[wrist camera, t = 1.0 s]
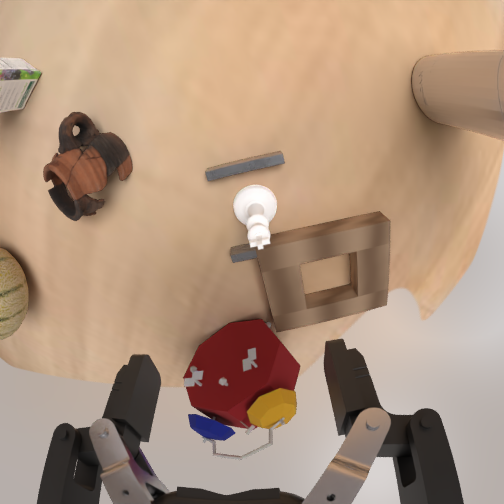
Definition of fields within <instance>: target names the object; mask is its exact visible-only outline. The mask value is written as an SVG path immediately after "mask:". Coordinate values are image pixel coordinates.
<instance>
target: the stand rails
mask: <svg viewBox="0 0 504 504" xmlns="http://www.w3.org/2000/svg"><path fill="white" fill-rule="evenodd" d="M284 163H285V162H284V158H283V154H282V152H281V151H278V152H273V153H268V154H264V155H259V156H255V157H250V158H246V159H242V160H237V161H233V162H229V163H225V164H221V165H218V166H214V167H210V168H207V170H206V172H205V173H206V176H207V180H208V181H211V180H215V179H218V178H222V177H226V176H230V175H235V174H239V173H243V172H247V171H251V170H256V169H260V168H265V167H269V166H274V165H279V164H284ZM253 258H257V254H256V250H255V247H251V248H250V243H248V244H244V245H240V246H235V247H231V259H232V262H233V263H235V262H239V261H244V260H248V259H253Z"/></svg>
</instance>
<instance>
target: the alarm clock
mask: <svg viewBox="0 0 504 504" xmlns="http://www.w3.org/2000/svg"><path fill="white" fill-rule="evenodd" d="M270 327H271V323H270V322H267V323H265V322H264V321H263V320H262V319H259V320H251V321H242V322H234V323H229V324H227V325H226V326H225V327H223V328H222V329H221V330H219V331H218V332H217V333H215V334H214V335H213V336H211V337H210V338H209V339H207V340H206V341H205V342H203V343H202V344H201V345H199V347H198V349H197V351H196V353H195V355H194V357H193V359H192V361H191V363H190V365H189V367H188V369H187V371H186V373H185V375H184V377H183V378H184V387H186V389H187V392H188V396H189V399H190V402H191V405H192V406H193V407H194V408H196V409H197V410H199V411H200V412H202V413H203V414H205V415H206V416H208V417H210V418H211V419H209V418H206V417H203V416H200V415H197V414H189V415H188V416H189V422H190V427H191V428H192V429H193V430H194V431H196V432H197V433H199V434H200V435H202V436H203V438H204V440H203V442H204V443H205V442H206V440H207V441H210V442H211V443H213V456H217V457H224V458H231V459H240V460H242V459H244V458H246V457H248V456H250V455H252V454H255V453H257V452H259V451H261V450H263V449H265V448H267V447H268V446H271V445H272V444H273V441H272V440H273V439H272V438H273V435H272V430H273V429H275V428H278V427H280V426H282V425H284V424H287V423H288V422H289V421H290V420H291V418H292V417H293V416H294V415H295V414H296V407H297V402H296V392H295V391H294V389H295V385H296V381H297V377H298V374H299V370H300V365H299V364H298V362H297V361H296V360H295V359H294V357H293V356H292V355H291V354H290V352H289V351H288V350H287V349H286V347H285V346H284V345H283V344H282V342H281V341H280V340H279V339H278V338H277V336H276V335H275V334H274V333H273V332H272V331H271V329H270ZM226 425H228V426H235V427H240V428H247V429H248V430H247V431H246V432H245V433H246V434H249V433H250V432H251V431H252V430H254V429H255V428H257V427H261V428H267V429H269V443H268V444H266V445H264V446H262V447H260V448H258V449H256V450H253V451H251V452H249V453H247V454H245V455H243V456H234V455H226V454H218V453H216V444H215V443H216V442H215V441H214V440H226V439H228V438H229V437H231V436H232V435H233V434H235V432H234V431H233V429H232V428H230V427H228V426H226ZM211 439H214V440H211Z"/></svg>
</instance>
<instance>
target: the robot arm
mask: <svg viewBox="0 0 504 504" xmlns="http://www.w3.org/2000/svg"><path fill="white" fill-rule="evenodd" d="M412 89H413V93H414V96H415V99H416V101H417V104H418V105H419V107H420V109H421V110H422V111H423V113H424V114H425V115H426V116H427V117H428V118H430V119H431V120H433V121H435V122H436V123H441V124H445V125H449V126H453V127H457V128H461V129H465V130H469V131H472V132H476V133H480V134H483V135H486V136H490V137H493V138H496V139H499V140H502V141H504V50H492V51H468V52H455V53H444V54H437V55H430V56H425V57H423V58H421V59H420V60H419V61H418V62H417V64H416V65H415V67H414V70H413V74H412ZM324 372H325V377H326V381H327V385H328V389H329V394H330V399H331V403H332V408H333V412H334V417H335V421H336V426H337V431H338V435H344V434H345V437H346V439H345V441H344V442H343V444H342V446H341V448H340V449H339V451H338V453H337V454H336V456H335V457H334V459H333V460H332V461H331V462H330V464H329V465H328V467H327V469H326V470H325V471H324V473H323V475H322V476H321V477H320V479H319V480H318V482H317V483H316V485H315V486H314V488H313V489H312V491H311V492H310V493H309V495H308V496H307V497H306V499H304V498H302V497H300V496H297V495H295V494H292V493H287V492H281V491H280V489H279V488H272V489H253V490H249V491H245V492H241V493H236V494H232V495H222V494H218V493H214V492H211V491H207V490H204V489H198V488H186V487H177V491H174V492H169V490H168V489H167V488H166V486H165V485H164V484H163V483H162V482H161V481H160V480H159V479H158V477H157V476H156V474H155V473H154V471H153V469H152V468H151V466H150V464H149V463H148V461H147V459H146V457H145V456H144V454H143V452H142V450H141V449H140V447H139V445H140V441H142V442H149V437H150V432H151V427H152V422H153V418H154V413H155V408H156V404H157V399H158V395H159V390H160V386H161V378H160V374H159V372H158V370H157V369H156V367H155V365H154V363H153V362H152V360H151V358H150V356H149V355H138V354H134V355H132V356H131V358H130V360H129V363H128V365H124V366H123V367H122V368H121V369H120V371H119V372H118V373H117V376H116V379H115V384H113V387H112V391H111V393H110V396H109V399H108V402H107V405H106V408H105V411H104V414H103V417H102V419H98V420H96V421H95V422H94V423H93V424H92V425H91V427H86V428H78V429H75V428H74V427H73V426H72V425H70V424H68V423H63V424H60V425H59V426H58V427H57V428H56V429H55V431H54V433H53V437H52V441H51V444H50V447H49V451H48V455H47V458H46V463H45V467H44V471H43V475H42V480H41V484H40V489H39V494H38V500H37V504H99V498H100V490H101V484H102V481H103V484H104V486H105V488H106V490H107V492H108V494H109V496H110V498H111V500H112V502H113V504H351V503H352V502H353V500H354V498H355V497H356V495H357V493H358V492H359V490H360V488H361V487H362V485H363V483H364V481H365V480H366V478H367V475H368V473H369V470H370V467H371V466H372V463H373V462H374V460H375V458H376V457H393V462H394V467H395V472H396V478H397V484H398V490H399V496H400V502H401V504H464V503H463V498H462V493H461V488H460V483H459V480H458V475H457V471H456V467H455V464H454V460H453V456H452V453H451V449H450V446H449V442H448V439H447V436H446V432H445V429H444V426H443V423H442V420H441V418H440V415H439V414H438V413H437V412H436V411H434V410H432V409H428V408H425V409H421V410H418V411H417V412H416V413H415V414H414V415H393V414H390V413H388V412H387V411H385V410H384V409H383V408H382V406H381V405H380V403H379V400H378V397H377V394H376V391H375V388H374V385H373V382H372V379H371V377H370V375H369V371H368V368H367V365H366V363H365V360H364V357H363V356H362V355H361V354H360V352H358V351H357V349H356V348H354V349H349V350H347V349H346V345H345V342H344V340H343V339H337V340H331V341H326V343H325V355H324ZM77 460H78V461H77ZM76 462H77V466H76ZM75 467H76V470H75ZM74 472H75V475H74Z"/></svg>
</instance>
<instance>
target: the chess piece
mask: <svg viewBox="0 0 504 504" xmlns="http://www.w3.org/2000/svg"><path fill="white" fill-rule="evenodd" d="M233 209H234V212H235V215H236V217H237V218H238V220H239V221H240V222H242V223H243V224H245V225H246V227H247V229H248V235H247V236H248V240H249V243H250V248H251V247H256V246H258V250H259V249H263V245H266V244H270V231H269V229H268V227H269V222H270V221H271V220H272V219H273V217H274V216H275V214H276V210H277V201H276V197H275V195H274V194H273V192H272V191H271V190H269V189H268V188H267V187H265V186H262V185H249V186H246V187H244V188H243V189H241V190H240V191H239V192H238V193H237V195H236V196H235V199H234V202H233Z"/></svg>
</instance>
